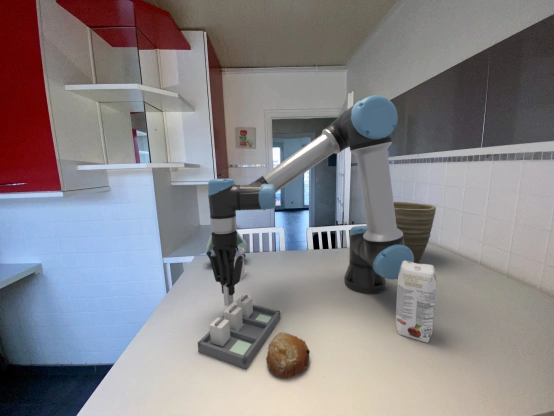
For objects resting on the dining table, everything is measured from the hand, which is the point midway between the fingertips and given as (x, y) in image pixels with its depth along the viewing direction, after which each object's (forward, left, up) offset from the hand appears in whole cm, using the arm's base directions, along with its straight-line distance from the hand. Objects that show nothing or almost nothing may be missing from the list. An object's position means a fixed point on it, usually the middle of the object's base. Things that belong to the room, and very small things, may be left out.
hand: (229, 303), depth 74 cm
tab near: (-6, +12, -2) cm, 14 cm away
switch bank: (-9, +6, -4) cm, 11 cm away
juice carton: (-52, -12, -4) cm, 53 cm away
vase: (-53, -68, -4) cm, 86 cm away
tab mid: (-6, +6, -2) cm, 9 cm away
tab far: (-6, 0, -2) cm, 6 cm away
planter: (+25, -34, -4) cm, 42 cm away
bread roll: (-24, +10, -4) cm, 26 cm away
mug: (+14, -23, -4) cm, 27 cm away
